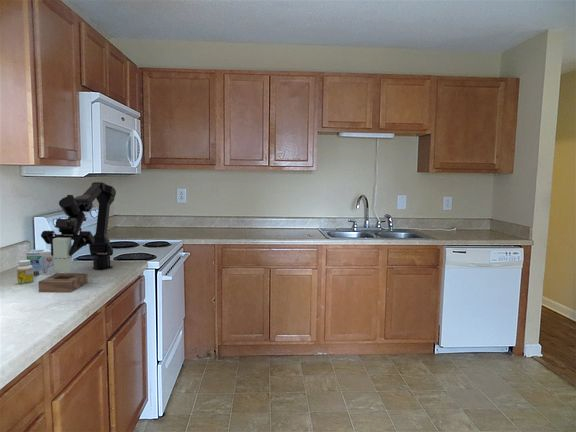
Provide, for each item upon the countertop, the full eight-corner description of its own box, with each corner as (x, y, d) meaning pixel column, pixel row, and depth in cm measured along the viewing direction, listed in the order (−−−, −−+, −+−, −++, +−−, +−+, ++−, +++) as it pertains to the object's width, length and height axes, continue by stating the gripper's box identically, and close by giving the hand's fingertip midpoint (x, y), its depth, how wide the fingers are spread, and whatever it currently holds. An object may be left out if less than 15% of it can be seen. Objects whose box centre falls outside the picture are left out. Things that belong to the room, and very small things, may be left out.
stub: (59, 268, 161) (58, 237, 159) (72, 268, 161) (71, 237, 159) (53, 271, 157) (52, 239, 155) (67, 271, 157) (66, 239, 155)
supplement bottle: (36, 283, 166) (35, 260, 165) (22, 286, 162) (21, 262, 161) (28, 281, 169) (27, 258, 168) (15, 284, 164) (13, 261, 163)
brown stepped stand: (57, 281, 169) (57, 270, 169) (96, 282, 170) (96, 271, 169) (27, 296, 150) (27, 284, 149) (72, 296, 150) (71, 284, 149)
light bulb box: (26, 277, 176) (25, 252, 175) (32, 273, 183) (30, 249, 181) (54, 275, 179) (53, 251, 178) (58, 272, 185) (57, 248, 184)
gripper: (42, 210, 160) (26, 243, 150) (90, 211, 160) (77, 243, 151) (54, 227, 169) (39, 259, 159) (99, 228, 169) (88, 260, 159)
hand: (60, 255), depth 157 cm, fingers open, 6 cm apart
